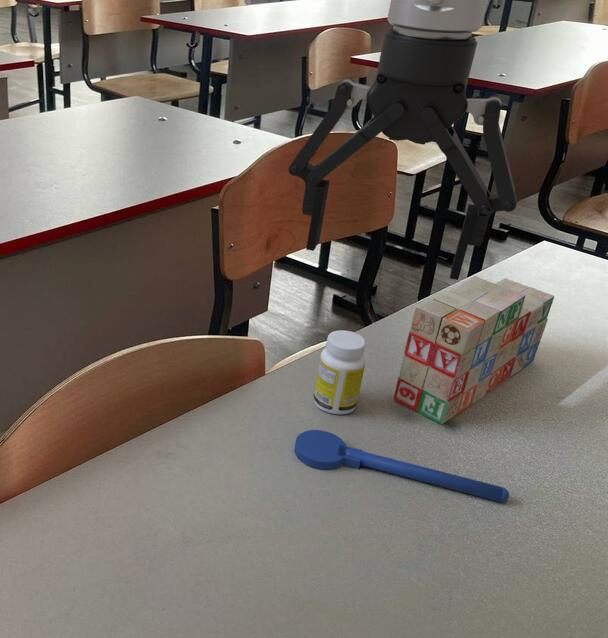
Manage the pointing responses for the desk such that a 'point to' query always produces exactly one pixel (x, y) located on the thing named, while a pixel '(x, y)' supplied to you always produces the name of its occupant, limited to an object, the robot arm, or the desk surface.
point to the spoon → (383, 464)
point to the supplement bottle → (340, 372)
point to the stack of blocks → (469, 344)
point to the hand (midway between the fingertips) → (381, 259)
